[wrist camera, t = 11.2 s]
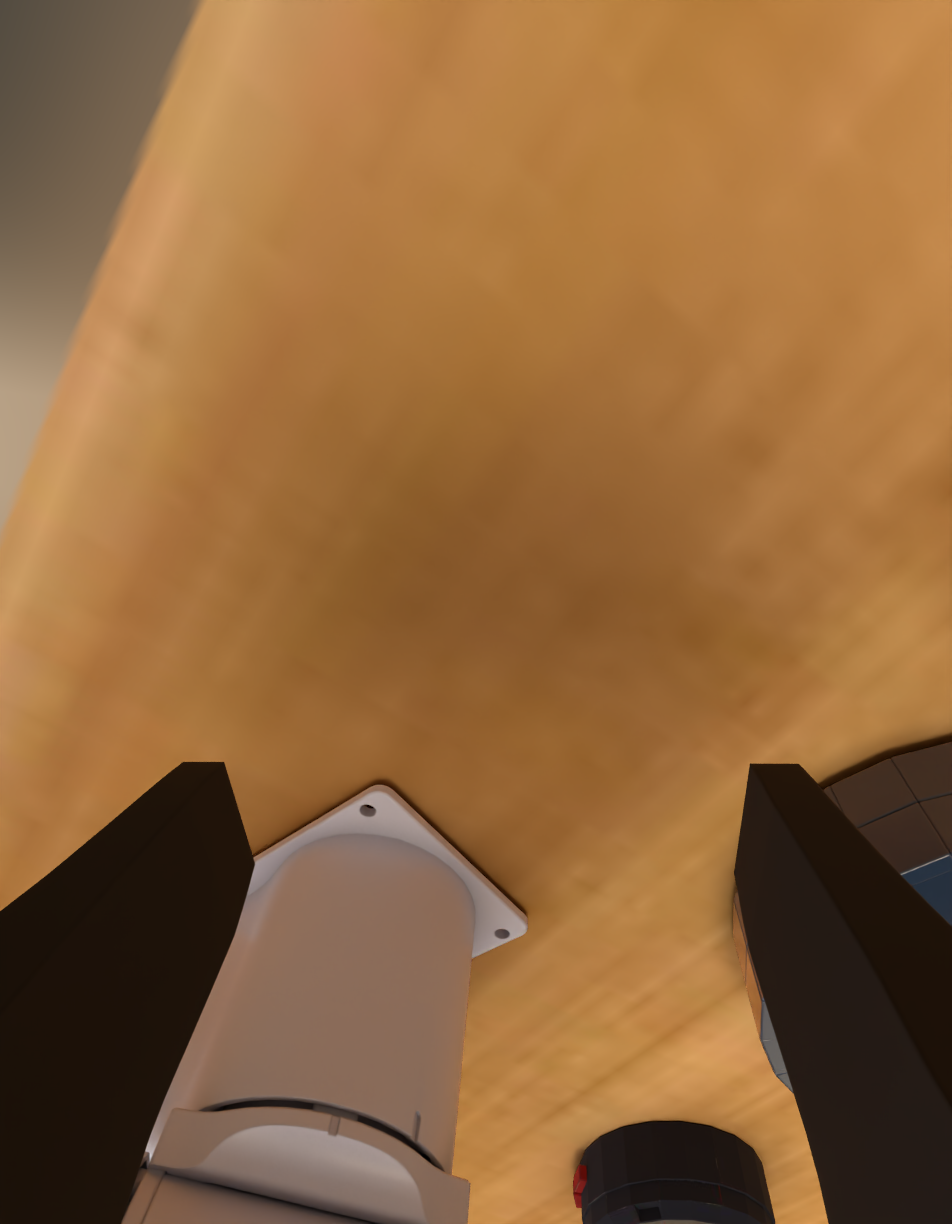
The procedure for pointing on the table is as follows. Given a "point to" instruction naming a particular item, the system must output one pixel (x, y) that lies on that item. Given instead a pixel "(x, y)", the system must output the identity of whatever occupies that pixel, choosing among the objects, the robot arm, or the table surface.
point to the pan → (882, 847)
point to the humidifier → (671, 1177)
